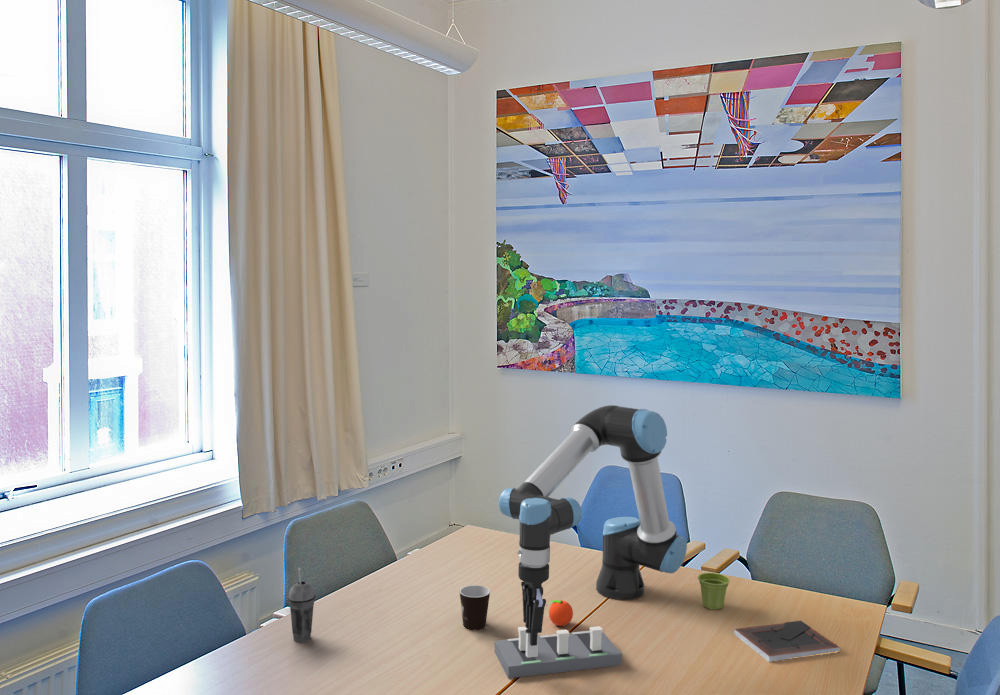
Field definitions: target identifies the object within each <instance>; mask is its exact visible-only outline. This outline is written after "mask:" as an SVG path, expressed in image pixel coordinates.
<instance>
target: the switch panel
mask: <svg viewBox="0 0 1000 695" xmlns="http://www.w3.org/2000/svg"><path fill="white" fill-rule="evenodd" d="M493 648H494V654H495V656H496V657H497V660H498V661H499V663H500V666H501V667H502V669H503V671H504V674H505V675H506V677H507V679H514V678H515V679H516V678H522V677H524V678H525V677H532V676H539V675H548V674H558V673H565V672H575V671H582V670H584V671H585V670H593V669H600V668H609V667H610V668H611V667H618V666H622V660H623V659H622V658H623V653H622V652H621V651H620V650H619V648H617V646H616V645H615V644H614V643H613V641H611V640H610V638H609V637H608V636H607V635H606V634H605V633H604V632H603V633H602V635H601V650H596V651H592V650H591V649H590V631H589V630H584V631H575V632H571V633H570V632H569V637H568V654H560V655H559V654H558V653H557V635H556V634H555V633H554V634H553V633H552V634H547V635H546V634H544V635H540V636H539V635H538V657H529V658H527V656H526V650H525V651H520V650H519V637H517V638H508V639H501V640H494V646H493Z"/></svg>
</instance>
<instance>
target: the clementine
mask: <svg viewBox="0 0 1000 695" xmlns="http://www.w3.org/2000/svg"><path fill="white" fill-rule="evenodd" d="M550 603H552V604H550ZM548 604H550V607H549V609H548V617H549V619H550V621H551V622H552V623H553V624H554V625H556V626H558V627H564V626H566V625H568V624H570V622H572V619H573V617H574V611H573V610H574V609H573V607H572V605H571V604H570V603H569V602H568V601H566V600H564V599H555V600H551V601H548V603H547V605H548Z"/></svg>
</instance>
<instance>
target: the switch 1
mask: <svg viewBox="0 0 1000 695" xmlns="http://www.w3.org/2000/svg"><path fill="white" fill-rule="evenodd" d="M526 629H527V628H526V627H525V626H518V627H517V631H518V638H519V650H520V651H525V650H526Z"/></svg>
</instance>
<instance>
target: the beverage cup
mask: <svg viewBox="0 0 1000 695" xmlns="http://www.w3.org/2000/svg"><path fill="white" fill-rule="evenodd" d="M297 570H298V571H297V572H298V582H296V583H294V584H293V585H292V586H291V587H290V589H289V593H288V597H287V600H288V605H289V609H290V610H289V611H290V620H291V630H292V637H293V639H292V640H293V641H295V642H297V643H305V642H307V641H310V640H311V636H312V631H313V630H312V627H313V618H314V605H315V600H316V591H315V588H314V586H312V584H311V583H309V582H307V581H302V575H301V567H298V569H297Z"/></svg>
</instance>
